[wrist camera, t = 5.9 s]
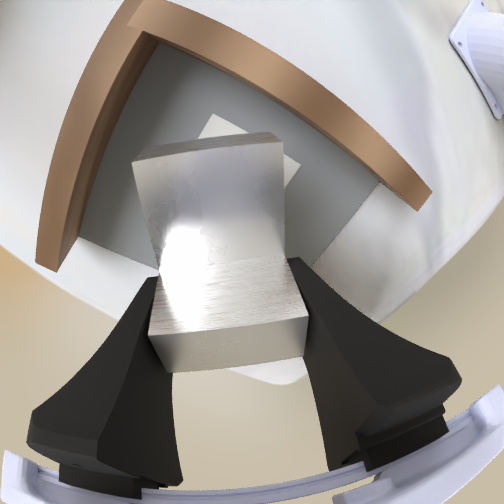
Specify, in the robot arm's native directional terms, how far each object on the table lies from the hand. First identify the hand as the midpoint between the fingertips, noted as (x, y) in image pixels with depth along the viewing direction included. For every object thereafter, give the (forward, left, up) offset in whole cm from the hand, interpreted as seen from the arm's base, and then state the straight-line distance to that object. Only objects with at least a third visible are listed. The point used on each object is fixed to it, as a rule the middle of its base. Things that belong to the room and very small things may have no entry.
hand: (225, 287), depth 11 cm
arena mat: (0, -1, -8) cm, 8 cm away
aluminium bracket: (+1, -2, -2) cm, 3 cm away
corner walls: (0, -1, -8) cm, 8 cm away
